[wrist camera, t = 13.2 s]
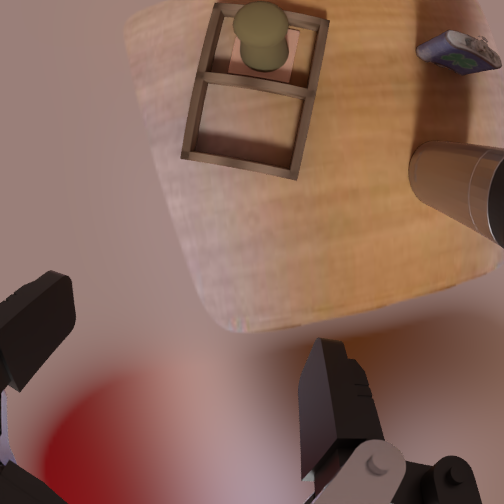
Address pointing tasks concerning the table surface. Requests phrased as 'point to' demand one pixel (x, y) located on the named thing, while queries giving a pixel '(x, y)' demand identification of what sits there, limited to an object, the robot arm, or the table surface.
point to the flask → (459, 53)
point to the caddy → (254, 88)
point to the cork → (262, 36)
